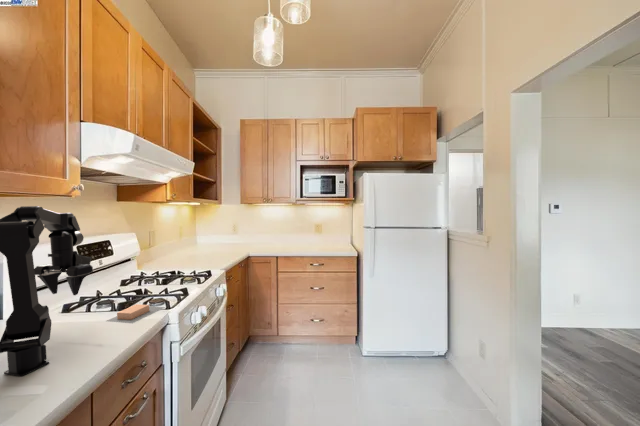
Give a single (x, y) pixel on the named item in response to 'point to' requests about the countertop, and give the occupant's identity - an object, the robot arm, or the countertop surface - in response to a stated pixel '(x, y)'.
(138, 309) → the tan flat block
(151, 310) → the mat
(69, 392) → the countertop surface
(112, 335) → the countertop surface
